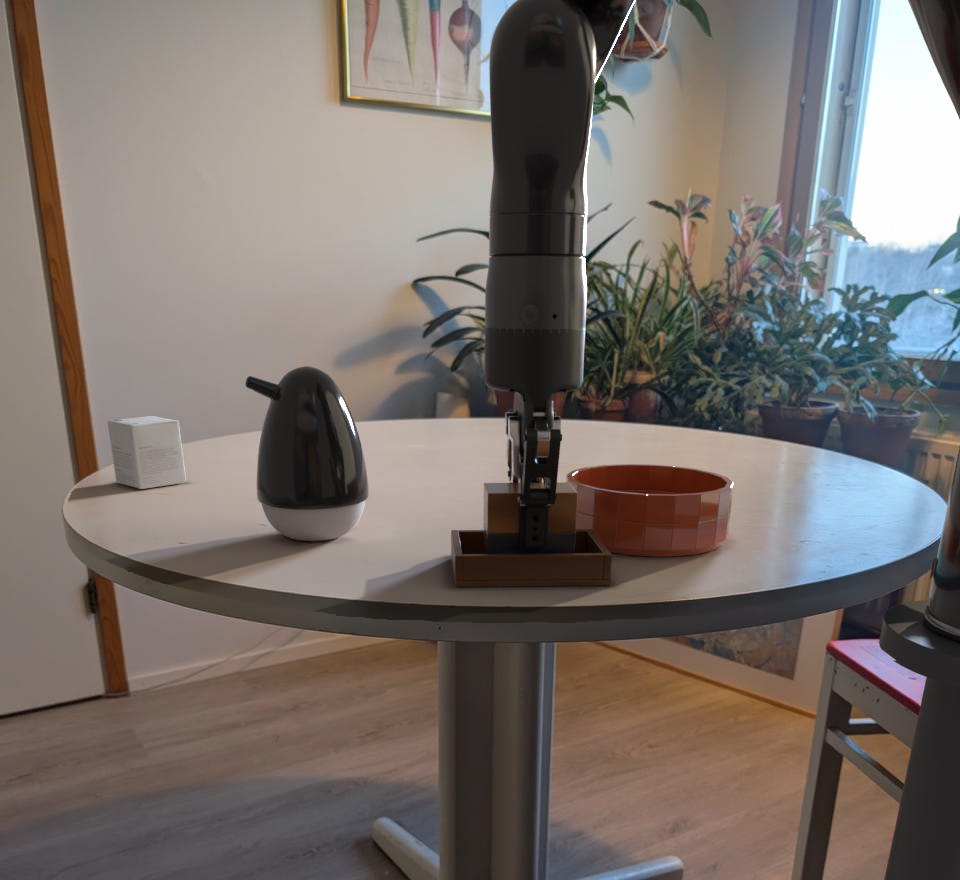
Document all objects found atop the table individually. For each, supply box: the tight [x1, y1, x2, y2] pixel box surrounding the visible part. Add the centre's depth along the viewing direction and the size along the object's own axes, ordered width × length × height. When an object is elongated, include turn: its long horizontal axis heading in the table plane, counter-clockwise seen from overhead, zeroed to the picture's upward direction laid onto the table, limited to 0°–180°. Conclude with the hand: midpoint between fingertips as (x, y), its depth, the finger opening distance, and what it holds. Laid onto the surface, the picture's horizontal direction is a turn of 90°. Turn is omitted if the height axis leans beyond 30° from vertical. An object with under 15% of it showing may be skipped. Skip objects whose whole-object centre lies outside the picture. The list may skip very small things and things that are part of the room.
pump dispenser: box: [244, 365, 370, 542], centre depth 81 cm, size 10×10×15 cm
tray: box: [450, 529, 613, 588], centre depth 73 cm, size 12×8×2 cm
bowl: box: [565, 463, 735, 558], centre depth 84 cm, size 15×15×6 cm
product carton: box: [107, 415, 187, 490], centre depth 104 cm, size 6×6×7 cm
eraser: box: [482, 481, 578, 554], centre depth 72 cm, size 7×4×5 cm, turn 94°
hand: (528, 544), depth 72 cm, fingers closed on eraser, 4 cm apart
